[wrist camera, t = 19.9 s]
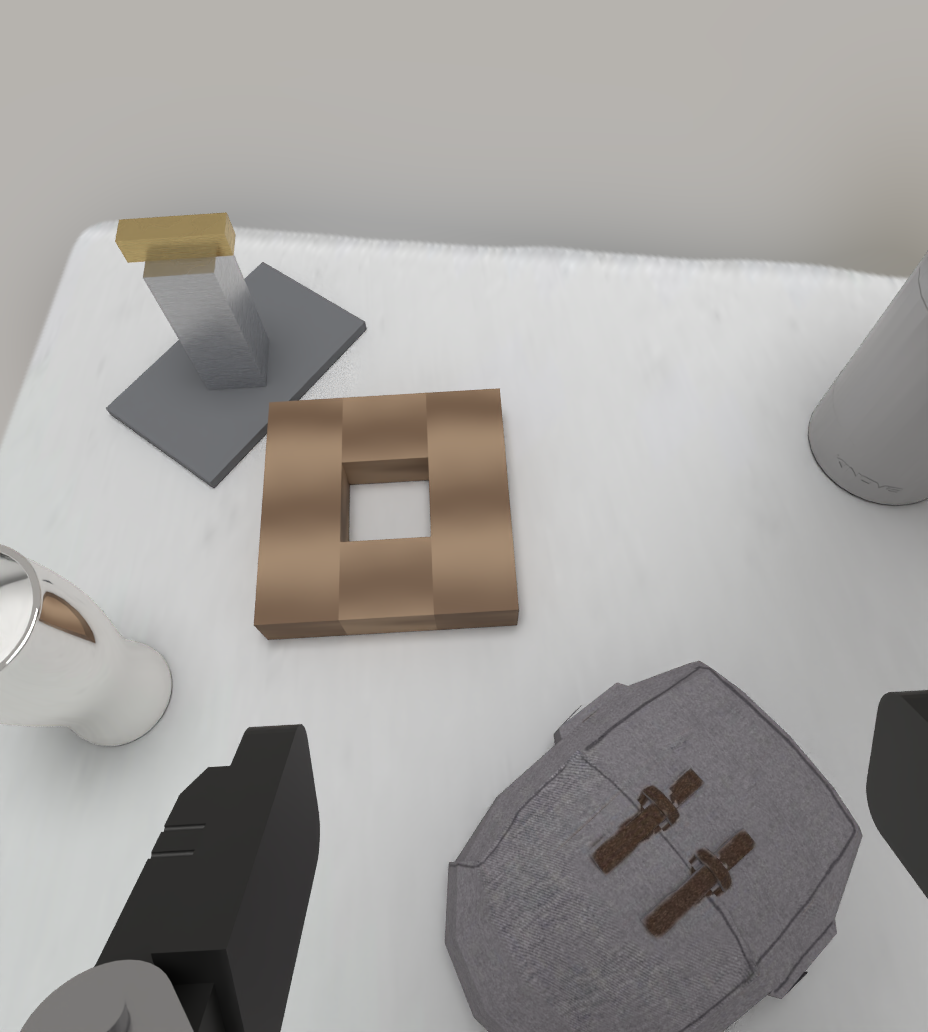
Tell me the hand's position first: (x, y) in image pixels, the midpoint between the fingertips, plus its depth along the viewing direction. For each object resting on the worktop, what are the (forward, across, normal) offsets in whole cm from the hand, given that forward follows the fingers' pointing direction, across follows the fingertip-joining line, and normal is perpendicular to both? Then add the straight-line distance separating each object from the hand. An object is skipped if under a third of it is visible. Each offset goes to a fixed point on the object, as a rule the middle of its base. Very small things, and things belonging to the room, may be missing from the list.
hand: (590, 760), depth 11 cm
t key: (+45, +17, 0) cm, 48 cm away
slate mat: (+46, +17, +1) cm, 49 cm away
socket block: (+37, +6, +10) cm, 38 cm away
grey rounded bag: (+22, -6, +25) cm, 34 cm away
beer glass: (+30, +22, +17) cm, 41 cm away
